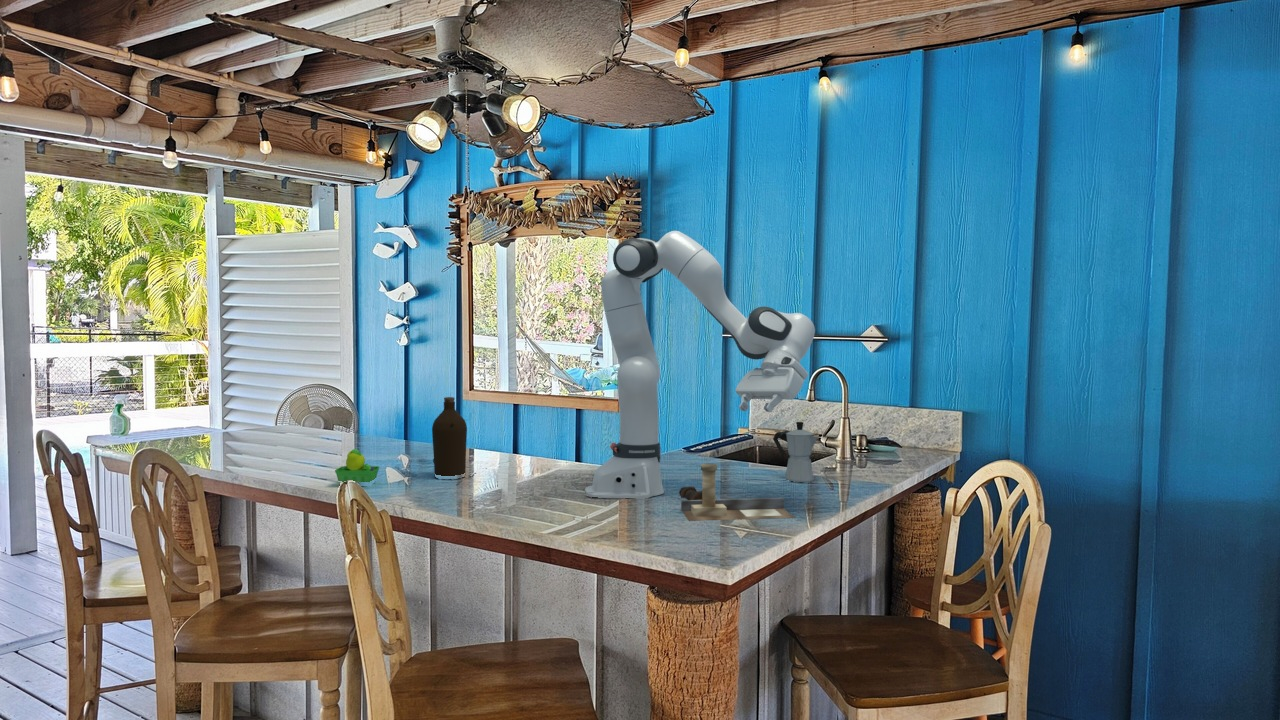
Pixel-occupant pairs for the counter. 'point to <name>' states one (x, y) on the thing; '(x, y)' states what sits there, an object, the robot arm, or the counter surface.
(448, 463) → the olive oil
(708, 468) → the stamp
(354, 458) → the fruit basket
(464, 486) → the counter surface
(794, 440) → the coffee maker
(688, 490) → the bolt
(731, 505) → the board
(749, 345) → the robot arm
